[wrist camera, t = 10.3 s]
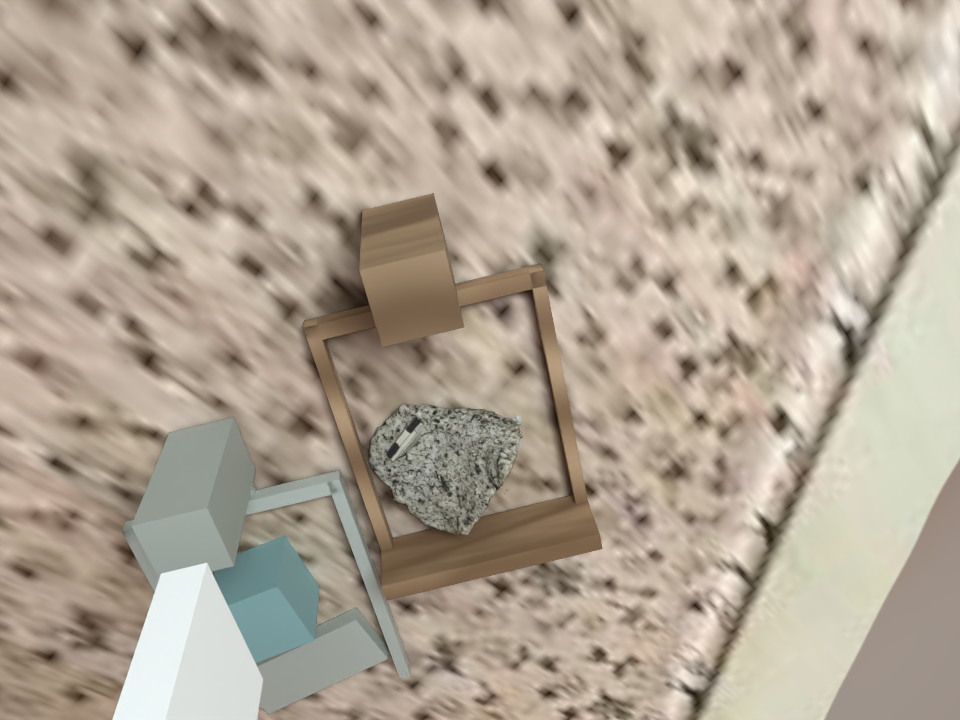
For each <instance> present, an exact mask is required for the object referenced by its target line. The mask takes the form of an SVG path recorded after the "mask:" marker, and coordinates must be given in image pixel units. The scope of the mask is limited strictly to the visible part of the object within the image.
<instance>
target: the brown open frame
mask: <svg viewBox="0 0 960 720" xmlns="http://www.w3.org/2000/svg"><path fill="white" fill-rule="evenodd" d="M359 272H360V275H361V278H362V282H363V285H364V288H365V291H366V295H367V298H368V301H369V305H367V306H363V307H358V308H354V309H350V310H346V311H342V312H338V313H334V314H329V315H325V316H321V317H317V318H313V319H309V320H305V321H304V325H303V329H304V332H305V335H306V338H307V341H308V344H309V346H310V349H311V352H312V355H313V358H314V361H315V363H316V366H317V369H318V372H319V375H320V378H321V381H322V383H323V386H324V389H325V392H326V395H327V398H328V401H329V403H330V406H331V409H332V412H333V415H334V418H335V421H336V423H337V426H338V429H339V432H340V435H341V438H342V440H343V443H344V446H345V449H346V452H347V455H348V458H349V460H350V463H351V466H352V469H353V472H354V475H355V478H356V480H357V483H358V486H359V489H360V492H361V495H362V497H363V500H364V503H365V506H366V509H367V512H368V515H369V517H370V520H371V523H372V526H373V529H374V532H375V535H376V537H377V540H378V543H379V546H380V549H381V587H382V590H383V592H384V595H385V598H386V601H387V600H391V599H395V598H399V597H404V596H408V595H412V594H416V593H420V592H425V591H429V590H433V589H437V588H441V587H445V586H450V585H454V584H458V583H462V582H466V581H470V580H475V579H479V578H483V577H487V576H491V575H495V574H500V573H504V572H508V571H512V570H516V569H520V568H525V567H529V566H533V565H537V564H541V563H545V562H550V561H554V560H558V559H562V558H566V557H570V556H575V555H579V554H583V553H587V552H591V551H596V550H600V549H602V544H601V539H600V534H599V531H598V528H597V526H596V523H595V520H594V517H593V514H592V512H591V509H590V506H589V503H588V500H587V495H586V489H585V484H584V479H583V474H582V469H581V463H580V458H579V453H578V448H577V443H576V437H575V432H574V427H573V422H572V417H571V411H570V406H569V401H568V396H567V391H566V385H565V380H564V375H563V370H562V364H561V359H560V354H559V349H558V344H557V338H556V333H555V328H554V323H553V318H552V312H551V307H550V302H549V297H548V292H547V286H546V281H545V276H544V271H543V268H542V266H541V264H536V265H532V266H528V267H524V268H520V269H516V270H512V271H507V272H503V273H499V274H495V275H491V276H487V277H483V278H478V279H474V280H470V281H466V282H462V283H458V284H455V281H454V276H453V271H452V267H451V262H450V258H449V254H448V250H447V246H446V241H445V237H444V233H443V229H442V225H441V221H440V217H439V213H438V209H437V205H436V201H435V197H434V193H433V194H429V195H424V196H420V197H416V198H412V199H408V200H404V201H400V202H396V203H391V204H387V205H383V206H379V207H375V208H371V209H367V210H363V211H362V227H361V246H360V264H359ZM527 290H532V295H533V300H534V305H535V310H536V315H537V320H538V325H539V330H540V334H541V339H542V344H543V349H544V354H545V359H546V364H547V369H548V374H549V379H550V384H551V389H552V394H553V399H554V404H555V409H556V414H557V419H558V424H559V429H560V434H561V439H562V444H563V449H564V453H565V458H566V463H567V468H568V473H569V478H570V483H571V488H572V493H573V495H571V496H567V497H563V498H559V499H555V500H551V501H546V502H542V503H538V504H534V505H530V506H526V507H521V508H517V509H513V510H509V511H505V512H501V513H496V514H492V515H488V516H484V517H480V519H478V521H477V522H476V524H475V525H474V527H473V529H472V530H471V532H470V534H468V535H464V534H462V533H459V534H456V535H455V534H453V533H450V532H448V531H444V530H438V529H437V528H434V529H430V530H426V531H421V532H417V533H413V534H409V535H405V536H401V537H396V538H393V537H392V535H391V532H390V529H389V526H388V523H387V520H386V517H385V514H384V511H383V508H382V505H381V502H380V499H379V496H378V493H377V490H376V487H375V484H374V481H373V478H372V476H371V473H370V470H369V467H368V464H367V461H366V458H365V455H364V452H363V449H362V446H361V443H360V440H359V437H358V434H357V431H356V428H355V425H354V422H353V420H352V417H351V414H350V411H349V408H348V405H347V402H346V399H345V396H344V393H343V390H342V387H341V384H340V381H339V378H338V375H337V372H336V369H335V366H334V363H333V361H332V358H331V355H330V352H329V349H328V346H327V343H326V340H325V339H328V338H332V337H336V336H340V335H344V334H349V333H353V332H357V331H361V330H365V329H369V328H373V327H376V328H377V331H378V334H379V337H380V341H381V344H382V347H385V346H389V345H393V344H397V343H401V342H405V341H410V340H414V339H418V338H422V337H426V336H430V335H434V334H439V333H443V332H447V331H451V330H455V329H459V328H463V327H464V324H463V319H462V314H461V309H460V306H465V305H469V304H473V303H477V302H481V301H485V300H489V299H494V298H498V297H502V296H506V295H510V294H514V293H518V292H523V291H527Z"/></svg>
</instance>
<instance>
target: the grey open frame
mask: <svg viewBox="0 0 960 720" xmlns="http://www.w3.org/2000/svg"><path fill="white" fill-rule="evenodd" d="M255 470H256V469H255V467H254V465H253V462H252V460H251V457H250V455H249V453H248V450H247V448H246V446H245V443H244V441H243V438H242V436H241V434H240V431H239V429H238V426H237V424H236V422H235V419H234V417H232V418H227V419H223V420H219V421H215V422H211V423H207V424H203V425H198V426H194V427H190V428H186V429H182V430H178V431H174V432H169V435H168V437H167V440H166V442H165V445H164V447H163V450H162V452H161V454H160V457H159V459H158V462H157V464H156V467H155V469H154V472H153V474H152V477H151V479H150V481H149V484H148V486H147V489H146V491H145V494H144V496H143V499H142V501H141V504H140V506H139V509H138V511H137V513H136V516H135V518H134V520H131V521H126V523H125V525H124V528H123V530H122V533H123V535H124V536H125V538H126V540H127V542H128V544H129V546H130V548H131V550H132V551H133V553H134V555H135V557H136V559H137V561H138V563H139V565H140V566H141V568H142V570H143V572H144V574H145V576H146V578H147V580H148V581H149V583H150V585H151V587H152V589H153V591H154V593H155V590H156V587H157V584H158V581H159V578H160V575H161V574H162V573H166V572H170V571H174V570H179V569H183V568H187V567H191V566H195V565H199V564H204V563H207V564H208V566H209V568H210V570H211V572H212V571H216V570H220V569H224V568H228V567H232V566H234V564H235V560H236V555H237V551H238V546H239V542H240V538H241V533H242V529H243V524H244V520H245V515H250V514H254V513H258V512H262V511H266V510H270V509H275V508H279V507H283V506H287V505H291V504H295V503H299V502H304V501H308V500H312V499H316V498H320V497H324V496H329V495H332V498H333V500H334V503H335V506H336V508H337V511H338V514H339V516H340V519H341V522H342V524H343V527H344V530H345V532H346V535H347V538H348V541H349V543H350V546H351V549H352V551H353V554H354V557H355V559H356V562H357V565H358V567H359V570H360V573H361V576H362V578H363V581H364V584H365V586H366V589H367V592H368V594H369V597H370V600H371V602H372V605H373V608H374V610H375V613H376V616H377V619H378V621H379V624H380V627H381V629H382V632H383V635H384V637H385V640H386V643H387V645H388V648H389V651H390V653H391V656H392V659H393V662H394V664H395V667H396V670H397V672H398V675H399V678H405V677H409V676H411V674H410V664H409V661H408V658H407V655H406V652H405V650H404V647H403V644H402V641H401V639H400V636H399V633H398V630H397V627H396V625H395V622H394V619H393V616H392V614H391V611H390V608H389V605H388V602H387V601H386V598H385V595H384V592H383V590H382V587H381V583H380V580H379V577H378V575H377V572H376V569H375V566H374V564H373V561H372V558H371V555H370V552H369V550H368V547H367V544H366V541H365V539H364V536H363V533H362V530H361V527H360V525H359V522H358V519H357V516H356V514H355V511H354V508H353V505H352V502H351V500H350V497H349V494H348V491H347V488H346V486H345V483H344V480H343V477H342V475H341V472H340V470H338V471H334V472H330V473H326V474H322V475H318V476H313V477H309V478H305V479H301V480H297V481H293V482H288V483H284V484H280V485H276V486H272V487H268V488H264V489H259V490H255V487H254V485H253V479H254V475H255Z"/></svg>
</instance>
